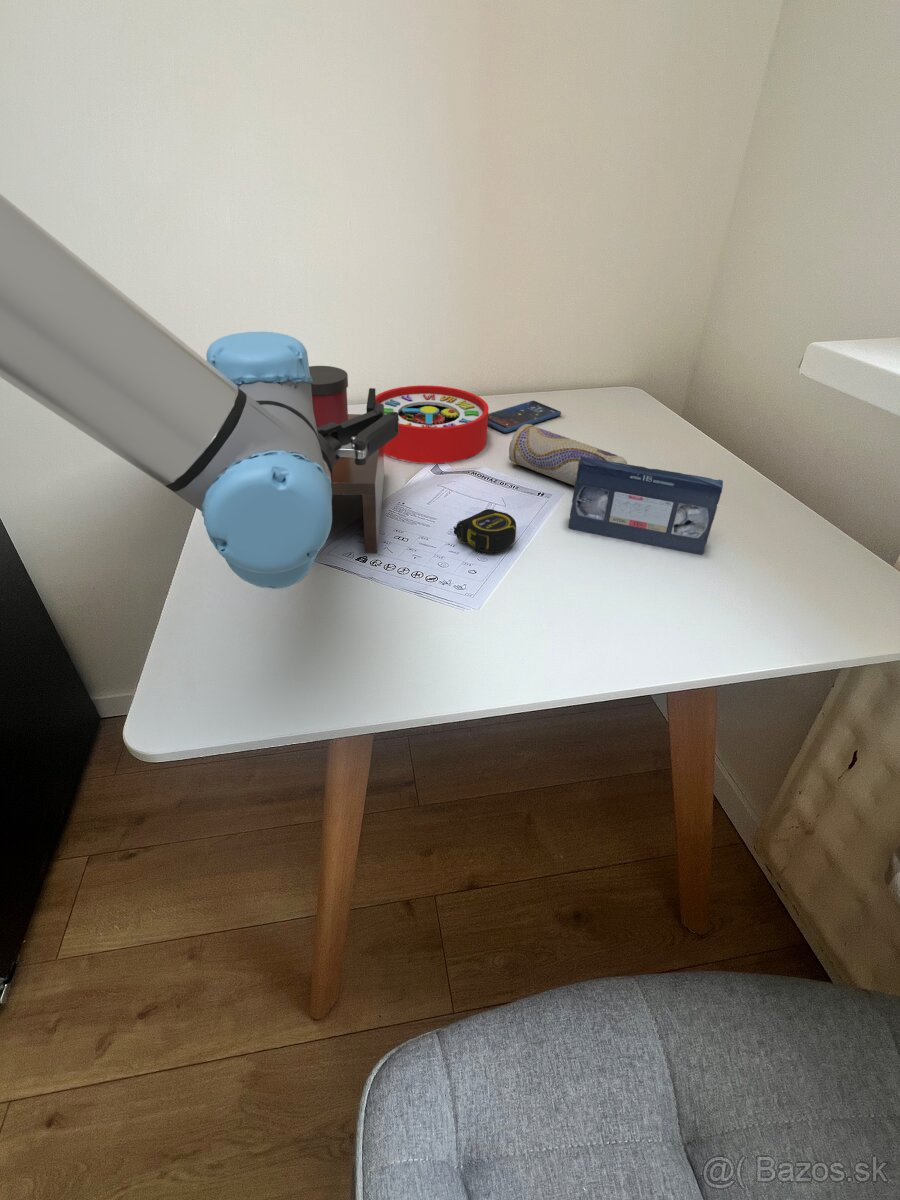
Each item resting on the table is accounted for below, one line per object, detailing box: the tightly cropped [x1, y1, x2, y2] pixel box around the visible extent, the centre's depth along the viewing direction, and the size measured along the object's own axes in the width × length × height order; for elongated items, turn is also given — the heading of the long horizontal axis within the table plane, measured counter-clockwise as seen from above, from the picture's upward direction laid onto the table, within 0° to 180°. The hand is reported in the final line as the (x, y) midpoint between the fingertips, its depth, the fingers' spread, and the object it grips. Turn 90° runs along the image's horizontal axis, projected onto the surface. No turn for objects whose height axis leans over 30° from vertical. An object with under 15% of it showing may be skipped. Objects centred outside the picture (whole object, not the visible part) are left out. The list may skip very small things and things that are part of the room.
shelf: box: [331, 413, 385, 554], centre depth 95 cm, size 18×22×10 cm
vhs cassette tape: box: [568, 457, 724, 555], centre depth 93 cm, size 18×3×10 cm, turn 70°
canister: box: [309, 365, 349, 458], centre depth 88 cm, size 7×7×10 cm
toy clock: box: [376, 384, 489, 465], centre depth 118 cm, size 20×6×20 cm
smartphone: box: [487, 400, 562, 433], centre depth 129 cm, size 8×1×15 cm
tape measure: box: [453, 508, 517, 553], centre depth 92 cm, size 7×7×4 cm
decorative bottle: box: [508, 424, 639, 487], centre depth 105 cm, size 26×8×7 cm, turn 50°
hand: (317, 397), depth 86 cm, fingers open, 13 cm apart
